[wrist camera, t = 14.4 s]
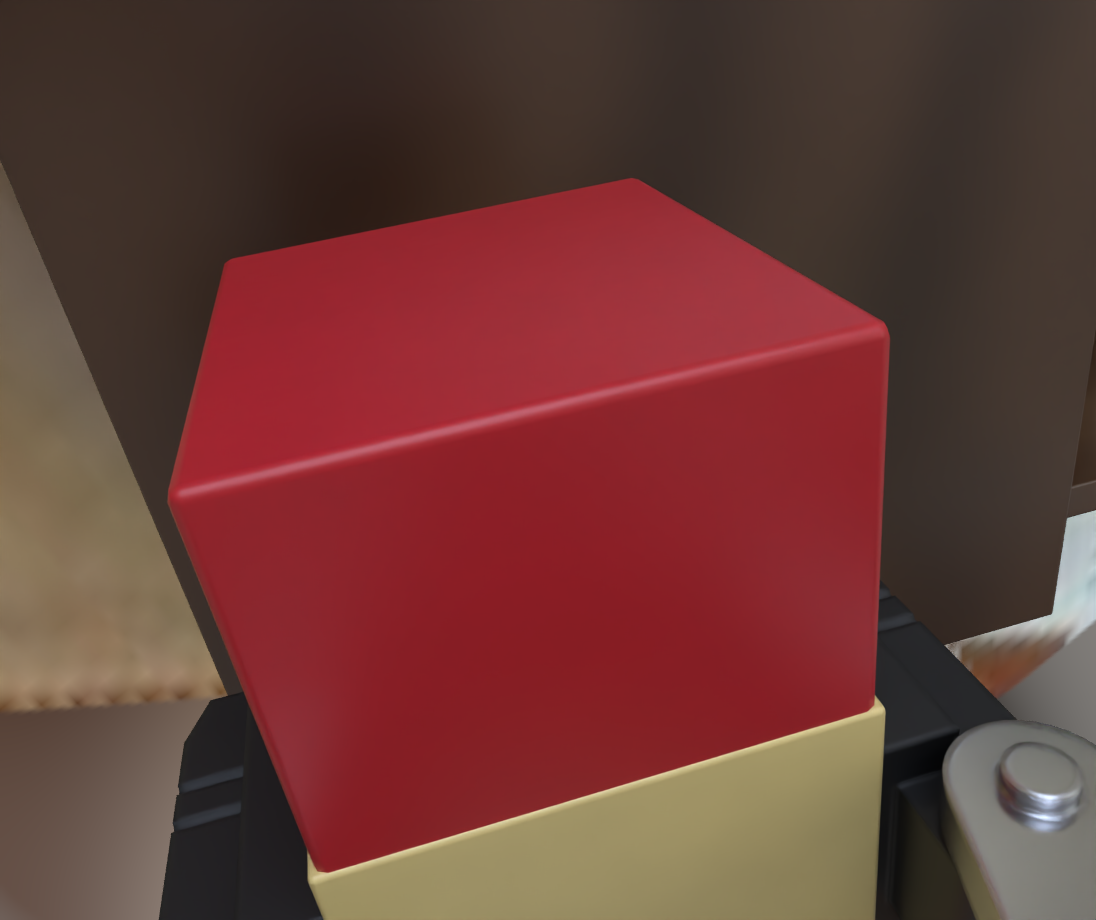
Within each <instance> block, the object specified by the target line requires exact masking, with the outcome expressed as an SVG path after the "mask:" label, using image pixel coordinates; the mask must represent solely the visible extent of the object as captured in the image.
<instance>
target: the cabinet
mask: <svg viewBox="0 0 1096 920" xmlns="http://www.w3.org/2000/svg"><path fill="white" fill-rule="evenodd" d="M0 161H1V163H2V165H3V168H4V170H5V172H6V175H7V177H8V179H9V182H10V184H11V186H12V189H13V191H14V194H15V196H16V198H17V201H18V203H19V205H20V208H21V210H22V212H23V215H24V217H25V219H26V222H27V224H28V226H29V229H30V231H31V234H32V236H33V238H34V241H35V243H36V245H37V248H38V250H39V252H40V255H41V257H42V259H43V262H44V264H45V266H46V269H47V271H48V274H49V276H50V278H51V281H52V283H53V285H54V288H55V290H56V292H57V295H58V297H59V299H60V302H61V304H62V306H63V309H64V311H65V314H66V316H67V318H68V321H69V323H70V325H71V328H72V330H73V332H74V335H75V337H76V339H77V342H78V344H79V346H80V349H81V351H82V354H83V356H84V358H85V361H86V363H87V365H88V368H89V370H90V372H91V375H92V377H93V379H94V382H95V384H96V386H97V389H98V391H99V394H100V396H101V398H102V401H103V403H104V405H105V408H106V410H107V412H108V415H109V417H110V419H111V422H112V424H113V426H114V429H115V431H116V434H117V436H118V438H119V441H120V443H121V445H122V448H123V450H124V452H125V455H126V457H127V459H128V462H129V464H130V466H131V469H132V471H133V474H134V476H135V478H136V481H137V483H138V485H139V488H140V490H141V492H142V495H143V497H144V499H145V502H146V504H147V506H148V509H149V511H150V514H151V516H152V518H153V521H154V523H155V525H156V528H157V530H158V532H159V535H160V537H161V539H162V542H163V544H164V546H165V549H166V551H167V554H168V556H169V558H170V561H171V563H172V565H173V568H174V570H175V572H176V575H177V577H178V579H179V582H180V584H181V586H182V589H183V591H184V594H185V596H186V598H187V601H188V603H189V605H190V608H191V610H192V612H193V615H194V617H195V619H196V622H197V624H198V626H199V629H200V631H201V634H202V636H203V638H204V641H205V643H206V645H207V648H208V650H209V652H210V655H211V657H212V659H213V662H214V664H215V666H216V669H217V671H218V674H219V676H220V678H221V681H222V683H223V685H224V688H225V690H226V692H227V695H228V696H229V695H233V694H237V693H240V692H243V689H242V687H241V684H240V682H239V679H238V677H237V674H236V672H235V669H234V667H233V664H232V662H231V659H230V657H229V655H228V652H227V650H226V647H225V645H224V642H223V640H222V637H221V635H220V632H219V630H218V627H217V625H216V622H215V620H214V617H213V615H212V612H211V610H210V607H209V605H208V602H207V600H206V597H205V595H204V593H203V590H202V588H201V585H200V583H199V580H198V578H197V575H196V573H195V570H194V568H193V565H192V563H191V560H190V558H189V555H188V553H187V550H186V548H185V545H184V543H183V540H182V538H181V536H180V533H179V531H178V528H177V526H176V523H175V521H174V518H173V516H172V513H171V511H170V508H169V506H168V503H167V500H168V489H169V485H170V481H171V477H172V473H173V469H174V465H175V461H176V457H177V453H178V449H179V445H180V441H181V437H182V433H183V429H184V425H185V421H186V417H187V413H188V409H189V405H190V401H191V397H192V393H193V389H194V385H195V381H196V377H197V373H198V369H199V365H200V360H201V356H202V352H203V348H204V344H205V340H206V336H207V332H208V328H209V324H210V320H211V316H212V312H213V308H214V304H215V300H216V296H217V292H218V288H219V284H220V280H221V276H222V272H223V268H224V264H225V263H226V262H227V261H229V260H230V259H233V258H238V257H243V256H248V255H253V254H258V253H263V252H268V251H273V250H278V249H282V248H287V247H292V246H297V245H302V244H307V243H312V242H317V241H322V240H327V239H332V238H337V237H342V236H347V235H352V234H357V233H362V232H367V231H371V230H376V229H381V228H386V227H391V226H396V225H401V224H406V223H411V222H416V221H421V220H426V219H431V218H436V217H441V216H446V215H451V214H456V213H460V212H465V211H470V210H475V209H480V208H485V207H490V206H495V205H500V204H505V203H510V202H515V201H520V200H525V199H530V198H535V197H540V196H545V195H549V194H554V193H559V192H564V191H569V190H574V189H579V188H584V187H589V186H594V185H599V184H604V183H609V182H614V181H619V180H624V179H629V178H634V179H639V180H640V181H642V182H644V183H645V184H647V185H649V186H651V187H652V188H654V189H656V190H657V191H659V192H661V193H663V194H664V195H666V196H668V197H670V198H671V199H673V200H675V201H676V202H678V203H680V204H682V205H683V206H685V207H687V208H689V209H690V210H692V211H694V212H695V213H697V214H699V215H701V216H702V217H704V218H706V219H707V220H709V221H711V222H713V223H714V224H716V225H718V226H720V227H721V228H723V229H725V230H726V231H728V232H730V233H732V234H733V235H735V236H737V237H738V238H740V239H742V240H744V241H745V242H747V243H749V244H751V245H752V246H754V247H756V248H757V249H759V250H761V251H763V252H764V253H766V254H768V255H770V256H771V257H773V258H775V259H776V260H778V261H780V262H782V263H783V264H785V265H787V266H788V267H790V268H792V269H794V270H795V271H797V272H799V273H801V274H802V275H804V276H806V277H807V278H809V279H811V280H813V281H814V282H816V283H818V284H819V285H821V286H823V287H825V288H826V289H828V290H830V291H832V292H833V293H835V294H837V295H838V296H840V297H842V298H844V299H845V300H847V301H849V302H851V303H852V304H854V305H856V306H857V307H859V308H861V309H863V310H864V311H866V312H868V313H869V314H871V315H873V316H875V317H876V318H878V319H880V320H882V321H883V322H884V323H885V325H886V326H887V329H888V332H889V335H890V350H889V374H888V397H887V421H886V444H885V468H884V491H883V515H882V538H881V562H880V580H881V581H882V582H883V583H884V584H885V585H886V586H887V587H888V588H889V589H890V594H891V595H892V596H895V595H896V596H897V598H898V599H899V600H900V601H901V602H902V603H903V604H904V605H905V606H906V607H907V608H908V609H909V610H910V611H911V612H912V613H913V614H914V618H915V620H916V621H921V622H922V623H923V624H924V625H925V626H926V627H927V628H928V629H929V630H930V631H931V632H932V633H933V634H934V635H935V636H936V637H937V639H938V640H939V641H940V642H941V643H942V644H943V645H946V644H950V643H953V642H957V641H960V640H963V639H967V638H970V637H974V636H977V635H981V634H984V633H988V632H991V631H995V630H998V629H1002V628H1005V627H1009V626H1012V625H1016V624H1019V623H1023V622H1026V621H1030V620H1033V619H1037V618H1040V617H1044V616H1047V615H1051V614H1052V612H1053V605H1054V599H1055V592H1056V586H1057V579H1058V573H1059V566H1060V560H1061V553H1062V547H1063V540H1064V534H1065V527H1066V521H1067V514H1068V508H1069V501H1070V495H1071V488H1072V482H1073V475H1074V469H1075V462H1076V456H1077V449H1078V443H1079V436H1080V430H1081V423H1082V417H1083V410H1084V404H1085V397H1086V391H1087V384H1088V378H1089V371H1090V365H1091V358H1092V352H1093V345H1094V339H1095V332H1096V0H0Z"/></svg>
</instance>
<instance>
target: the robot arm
mask: <svg viewBox="0 0 1096 920" xmlns="http://www.w3.org/2000/svg"><path fill="white" fill-rule="evenodd" d="M875 696H876V697H877V699H878V700H879V701H880V702H881V703H882V705H883V706H884V708H885V712H886V714H885V733H884V753H883V773H882V792H881V812H880V832H879V852H878V871H877V891H876V911H875V920H1096V745H1095V744H1093V743H1092V742H1090V741H1088V740H1087V739H1085V738H1083V737H1081V736H1079V735H1076V734H1074V733H1072V732H1070V731H1067V730H1064V729H1061V728H1058V727H1055V726H1052V725H1048V724H1043V723H1039V722H1033V721H1024V720H1017V719H1016V718H1015V717H1014V716H1013V715H1012V714H1011V713H1010V712H1009V711H1008V710H1007V709H1006V708H1005V707H1004V706H1003V705H1002V704H1001V703H1000V702H999V701H998V700H997V699H996V698H995V697H994V696H993V695H992V694H991V693H990V692H989V691H988V690H987V689H986V688H985V687H984V686H983V685H982V684H981V683H980V682H979V681H978V680H977V679H976V677H975V676H974V675H973V674H972V673H971V672H970V671H969V670H968V669H967V668H966V667H965V666H964V665H963V664H962V663H961V662H960V661H959V660H958V659H957V658H956V657H955V656H954V655H953V654H952V653H951V652H950V651H949V650H948V649H947V648H946V647H945V646H944V645H943V644H942V643H941V642H940V641H939V640H938V639H937V637H936V636H935V635H934V634H933V633H932V632H931V631H930V630H929V629H928V628H927V627H926V626H925V625H924V624H923V623H922V622H921V621H916V620H915V618H914V614H913V613H912V612H911V611H910V610H909V609H908V608H907V607H906V606H905V605H904V604H903V603H902V602H901V601H900V600H899V599H898V598H897V596H896V595H895V596H892V595H891V594H890V589H889V588H888V587H887V586H886V585H885V584H884V583H883V582H882V581H881V580H880V585H879V609H878V632H877V656H876V679H875ZM178 788H179V795H177V797H176V804H175V811H174V818H173V826H174V832H173V833H171V839H170V846H169V853H168V861H167V867H166V873H165V880H164V888H163V895H162V901H161V908H160V915H159V920H323V917H322V915H321V912H320V910H319V907H318V905H317V903H316V900H315V898H314V895H313V893H312V890H311V888H310V886H309V883H308V869H307V848H306V845H305V843H304V841H303V838H302V836H301V833H300V831H299V828H298V826H297V823H296V821H295V818H294V816H293V813H292V811H291V808H290V806H289V803H288V801H287V798H286V796H285V793H284V791H283V788H282V786H281V783H280V781H279V779H278V776H277V774H276V771H275V769H274V766H273V764H272V761H271V759H270V756H269V754H268V751H267V749H266V746H265V744H264V741H263V739H262V736H261V734H260V731H259V729H258V726H257V724H256V721H255V719H254V717H253V714H252V712H251V709H250V707H249V704H248V702H247V699H246V697H245V694H244V692H240V693H237V694H233V695H229V696H225V697H222V698H218V699H214V700H211V701H210V702H209V704H208V706H207V707H206V709H205V710H204V712H203V714H202V715H201V717H200V718H199V720H198V722H197V723H196V725H195V727H194V728H193V730H192V731H191V733H190V735H189V736H188V738H187V740H186V741H185V743H184V749H183V755H182V762H181V769H180V776H179V784H178Z"/></svg>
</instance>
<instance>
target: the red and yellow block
mask: <svg viewBox="0 0 1096 920" xmlns="http://www.w3.org/2000/svg"><path fill="white" fill-rule="evenodd" d="M889 350H890V335H889V332H888V329H887V326H886V325H885V323H884V322H883V321H882V320H880V319H878V318H876V317H875V316H873V315H871V314H869V313H868V312H866V311H864V310H863V309H861V308H859V307H857V306H856V305H854V304H852V303H851V302H849V301H847V300H845V299H844V298H842V297H840V296H838V295H837V294H835V293H833V292H832V291H830V290H828V289H826V288H825V287H823V286H821V285H819V284H818V283H816V282H814V281H813V280H811V279H809V278H807V277H806V276H804V275H802V274H801V273H799V272H797V271H795V270H794V269H792V268H790V267H788V266H787V265H785V264H783V263H782V262H780V261H778V260H776V259H775V258H773V257H771V256H770V255H768V254H766V253H764V252H763V251H761V250H759V249H757V248H756V247H754V246H752V245H751V244H749V243H747V242H745V241H744V240H742V239H740V238H738V237H737V236H735V235H733V234H732V233H730V232H728V231H726V230H725V229H723V228H721V227H720V226H718V225H716V224H714V223H713V222H711V221H709V220H707V219H706V218H704V217H702V216H701V215H699V214H697V213H695V212H694V211H692V210H690V209H689V208H687V207H685V206H683V205H682V204H680V203H678V202H676V201H675V200H673V199H671V198H670V197H668V196H666V195H664V194H663V193H661V192H659V191H657V190H656V189H654V188H652V187H651V186H649V185H647V184H645V183H644V182H642V181H640V180H639V179H634V178H629V179H624V180H619V181H614V182H609V183H604V184H599V185H594V186H589V187H584V188H579V189H574V190H569V191H564V192H559V193H554V194H549V195H545V196H540V197H535V198H530V199H525V200H520V201H515V202H510V203H505V204H500V205H495V206H490V207H485V208H480V209H475V210H470V211H465V212H460V213H456V214H451V215H446V216H441V217H436V218H431V219H426V220H421V221H416V222H411V223H406V224H401V225H396V226H391V227H386V228H381V229H376V230H371V231H367V232H362V233H357V234H352V235H347V236H342V237H337V238H332V239H327V240H322V241H317V242H312V243H307V244H302V245H297V246H292V247H287V248H282V249H278V250H273V251H268V252H263V253H258V254H253V255H248V256H243V257H238V258H233V259H230V260H229V261H227V262H226V263H225V264H224V268H223V272H222V276H221V280H220V284H219V288H218V292H217V296H216V300H215V304H214V308H213V312H212V316H211V320H210V324H209V328H208V332H207V336H206V340H205V344H204V348H203V352H202V356H201V360H200V365H199V369H198V373H197V377H196V381H195V385H194V389H193V393H192V397H191V401H190V405H189V409H188V413H187V417H186V421H185V425H184V429H183V433H182V437H181V441H180V445H179V449H178V453H177V457H176V461H175V465H174V469H173V473H172V477H171V481H170V485H169V489H168V500H167V503H168V506H169V508H170V511H171V513H172V516H173V518H174V521H175V523H176V526H177V528H178V531H179V533H180V536H181V538H182V540H183V543H184V545H185V548H186V550H187V553H188V555H189V558H190V560H191V563H192V565H193V568H194V570H195V573H196V575H197V578H198V580H199V583H200V585H201V588H202V590H203V593H204V595H205V597H206V600H207V602H208V605H209V607H210V610H211V612H212V615H213V617H214V620H215V622H216V625H217V627H218V630H219V632H220V635H221V637H222V640H223V642H224V645H225V647H226V650H227V652H228V655H229V657H230V659H231V662H232V664H233V667H234V669H235V672H236V674H237V677H238V679H239V682H240V684H241V687H242V689H243V692H244V694H245V697H246V699H247V702H248V704H249V707H250V709H251V712H252V714H253V717H254V719H255V721H256V724H257V726H258V729H259V731H260V734H261V736H262V739H263V741H264V744H265V746H266V749H267V751H268V754H269V756H270V759H271V761H272V764H273V766H274V769H275V771H276V774H277V776H278V779H279V781H280V783H281V786H282V788H283V791H284V793H285V796H286V798H287V801H288V803H289V806H290V808H291V811H292V813H293V816H294V818H295V821H296V823H297V826H298V828H299V831H300V833H301V836H302V838H303V841H304V843H305V845H306V848H307V869H308V883H309V886H310V888H311V890H312V893H313V895H314V898H315V900H316V903H317V905H318V907H319V910H320V912H321V915H322V917H323V920H875V911H876V891H877V871H878V852H879V832H880V812H881V792H882V773H883V753H884V733H885V714H886V712H885V708H884V706H883V705H882V703H881V702H880V701H879V700H878V699H877V697H876V696H875V679H876V656H877V632H878V609H879V585H880V562H881V538H882V515H883V491H884V468H885V444H886V421H887V397H888V374H889Z"/></svg>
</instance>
